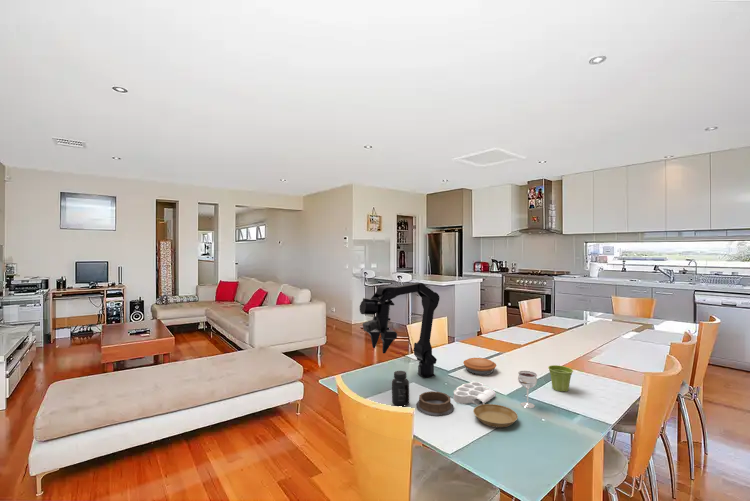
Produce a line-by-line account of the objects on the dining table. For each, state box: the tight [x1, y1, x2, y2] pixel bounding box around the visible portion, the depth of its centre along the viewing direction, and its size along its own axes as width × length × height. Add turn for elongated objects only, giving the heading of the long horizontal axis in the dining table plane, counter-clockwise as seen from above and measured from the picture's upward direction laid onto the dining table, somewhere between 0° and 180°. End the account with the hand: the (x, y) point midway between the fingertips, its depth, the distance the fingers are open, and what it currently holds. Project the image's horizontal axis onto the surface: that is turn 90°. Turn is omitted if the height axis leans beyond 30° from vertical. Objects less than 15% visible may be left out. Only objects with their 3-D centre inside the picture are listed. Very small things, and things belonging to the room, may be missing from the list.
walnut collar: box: [415, 390, 455, 417], centre depth 136 cm, size 14×14×4 cm
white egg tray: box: [453, 381, 497, 406], centre depth 145 cm, size 3×18×15 cm
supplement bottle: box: [391, 370, 410, 407], centre depth 140 cm, size 7×7×12 cm
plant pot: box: [547, 364, 574, 392], centre depth 152 cm, size 9×9×9 cm
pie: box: [462, 357, 497, 376], centre depth 175 cm, size 15×16×5 cm
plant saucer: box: [472, 403, 519, 428], centre depth 126 cm, size 15×15×3 cm
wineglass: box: [517, 370, 538, 409], centre depth 137 cm, size 7×7×12 cm
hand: (378, 350), depth 157 cm, fingers open, 9 cm apart
